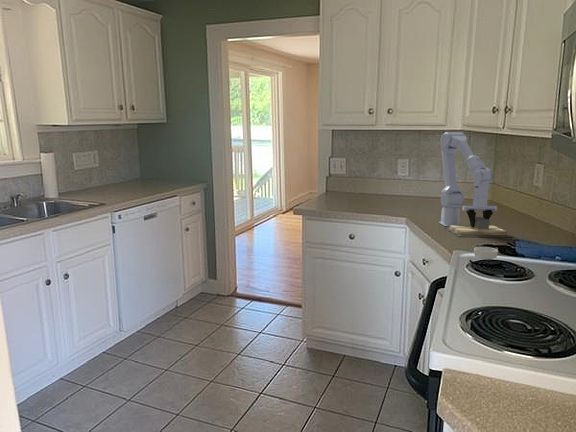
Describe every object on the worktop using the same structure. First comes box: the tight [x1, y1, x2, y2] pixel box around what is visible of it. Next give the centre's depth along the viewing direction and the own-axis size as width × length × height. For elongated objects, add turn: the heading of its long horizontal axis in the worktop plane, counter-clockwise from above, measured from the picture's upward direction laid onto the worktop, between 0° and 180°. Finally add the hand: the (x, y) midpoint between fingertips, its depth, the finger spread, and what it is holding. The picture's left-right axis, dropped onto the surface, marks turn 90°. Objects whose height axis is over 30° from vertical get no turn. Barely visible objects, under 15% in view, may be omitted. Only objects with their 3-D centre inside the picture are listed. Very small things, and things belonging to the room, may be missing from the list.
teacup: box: [473, 246, 499, 259], centre depth 147 cm, size 10×10×5 cm
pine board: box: [443, 224, 514, 238], centre depth 193 cm, size 18×23×2 cm
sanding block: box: [469, 216, 490, 230], centre depth 192 cm, size 8×4×4 cm, turn 4°
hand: (478, 226), depth 193 cm, fingers closed on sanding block, 5 cm apart
